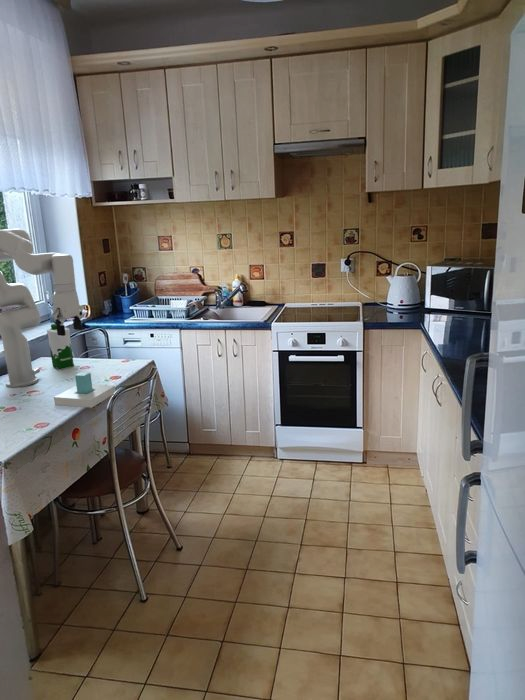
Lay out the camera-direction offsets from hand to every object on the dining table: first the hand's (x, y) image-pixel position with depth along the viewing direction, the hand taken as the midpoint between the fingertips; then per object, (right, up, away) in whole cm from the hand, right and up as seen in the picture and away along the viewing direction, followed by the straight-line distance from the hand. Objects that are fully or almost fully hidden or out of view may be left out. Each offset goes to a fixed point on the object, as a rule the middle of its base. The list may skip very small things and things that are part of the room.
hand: (69, 332), depth 202 cm
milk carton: (-20, -15, +46) cm, 52 cm away
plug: (+6, -25, 0) cm, 26 cm away
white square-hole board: (+7, -25, +3) cm, 26 cm away
